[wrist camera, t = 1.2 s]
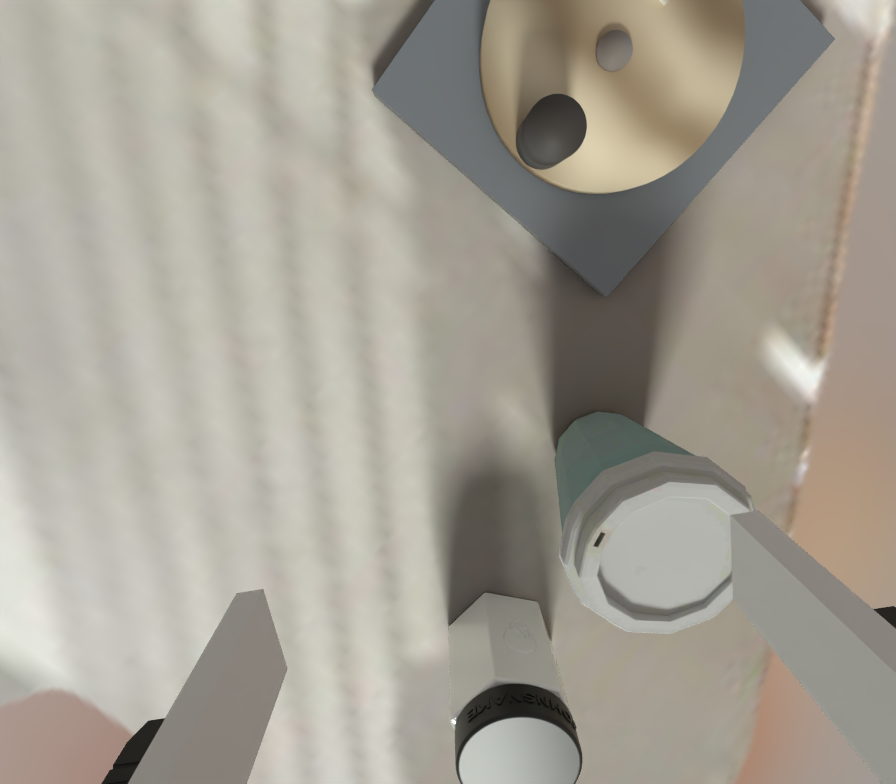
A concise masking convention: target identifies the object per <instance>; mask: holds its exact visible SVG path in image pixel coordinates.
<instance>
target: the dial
mask: <svg viewBox="0 0 896 784" xmlns="http://www.w3.org/2000/svg"><path fill="white" fill-rule="evenodd" d="M744 45H745V16H744V9H743V2H742V0H490V3H489V6H488V10H487V14H486V19H485V23H484V28H483V33H482V38H481V47H480V57H479V68H480V83H481V90H482V96H483V100H484V104H485V108H486V111H487V114H488V116H489V119H490V121H491V124H492V126H493V128H494V130H495V132H496V134H497V136H498V138H499V139H500V141H501V143H502V144H503V145H504V147H505V148H506V149H507V151H508V152H509V154H510V155H511V156H512V157H513V158H514V159H515V160H516V161H517V162H518V163H519V164H520V165H521V166H522V167H523V168H524V169H526V170H527V171H528V172H529V173H531V174H532V175H533V176H535V177H537V178H538V179H540V180H542V181H543V182H545V183H547V184H549V185H552V186H554V187H557V188H559V189H562V190H566V191H570V192H574V193H582V194H608V193H614V192H619V191H624V190H628V189H631V188H635V187H638V186H641V185H644V184H647V183H649V182H652V181H654V180H656V179H658V178H660V177H662V176H664V175H666V174H667V173H669V172H670V171H672V170H674V169H675V168H677V167H678V166H679V165H681V164H682V163H683V162H684V161H686V160H687V159H688V158H689V157H691V156H692V155H693V154H694V153H695V152H696V151H697V150H698V148H699V147H700V146H701V145H702V144H703V143H704V142H705V141H706V140H707V138H708V137H709V136H710V134H711V133H712V132H713V131H714V129H715V128H716V126H717V125H718V123H719V121H720V120H721V118H722V116H723V115H724V113H725V111H726V109H727V107H728V105H729V102H730V100H731V98H732V96H733V93H734V90H735V87H736V84H737V81H738V78H739V75H740V70H741V66H742V61H743V55H744Z"/></svg>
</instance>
